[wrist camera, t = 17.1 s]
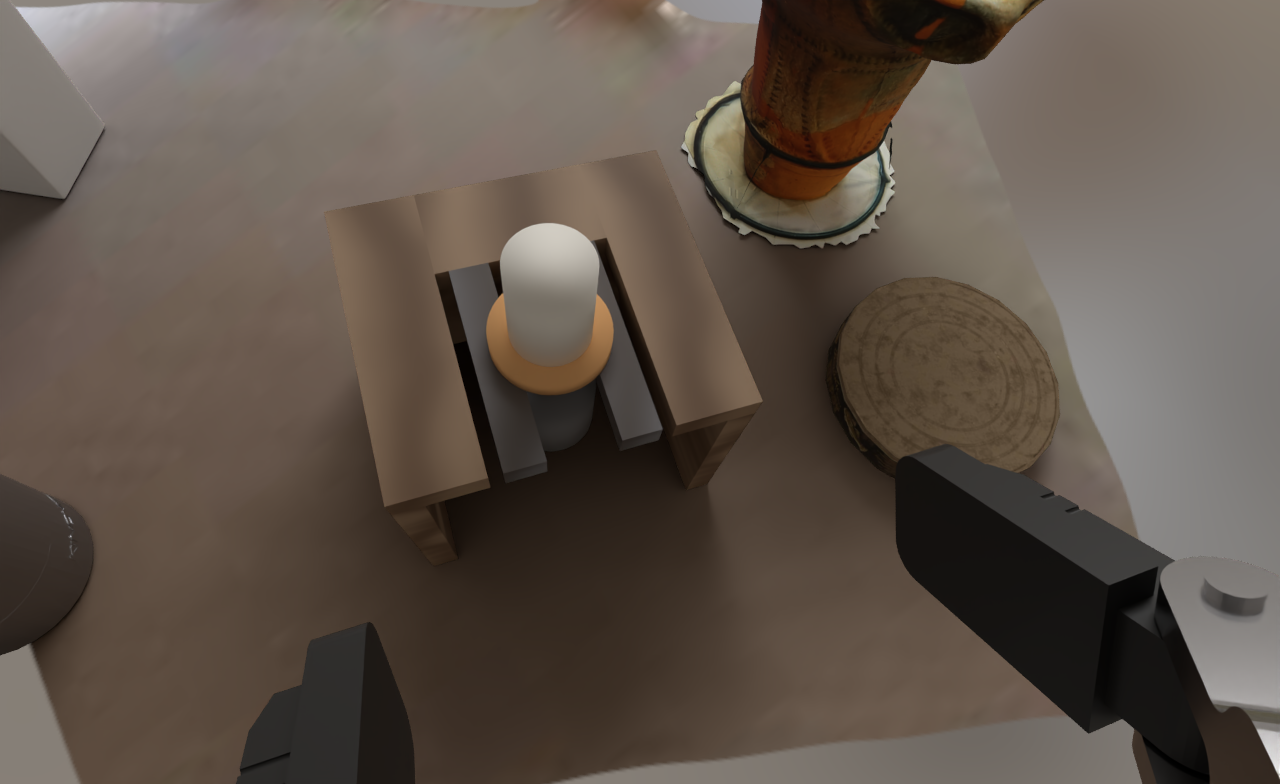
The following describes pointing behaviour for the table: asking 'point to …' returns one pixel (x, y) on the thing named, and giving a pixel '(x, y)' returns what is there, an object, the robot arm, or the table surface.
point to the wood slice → (941, 376)
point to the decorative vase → (829, 109)
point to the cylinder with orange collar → (551, 328)
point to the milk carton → (39, 115)
